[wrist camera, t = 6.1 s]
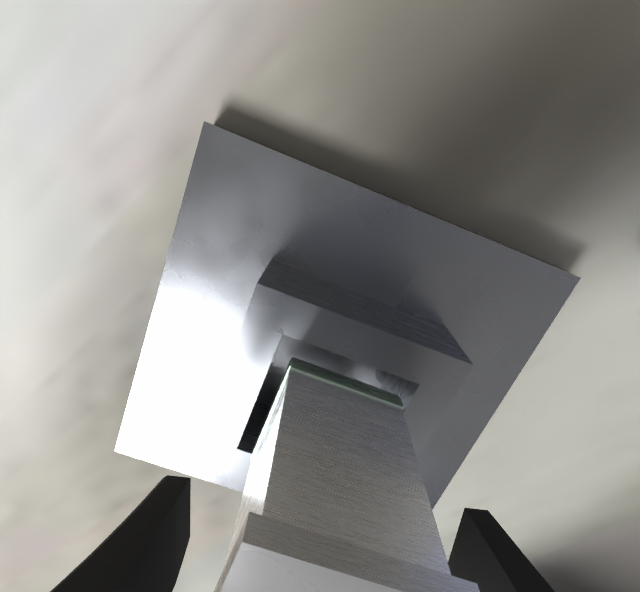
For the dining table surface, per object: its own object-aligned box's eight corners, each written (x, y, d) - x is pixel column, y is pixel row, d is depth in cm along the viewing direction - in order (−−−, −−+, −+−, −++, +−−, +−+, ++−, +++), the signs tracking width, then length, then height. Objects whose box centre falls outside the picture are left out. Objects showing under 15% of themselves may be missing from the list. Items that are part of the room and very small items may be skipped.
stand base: (563, 270, 17) (642, 305, 13) (404, 525, 22) (423, 613, 18) (213, 124, 15) (169, 109, 11) (126, 435, 20) (72, 506, 16)
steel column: (409, 390, 14) (489, 618, 7) (357, 485, 15) (381, 752, 8) (287, 346, 13) (241, 542, 6) (245, 448, 15) (172, 698, 8)
